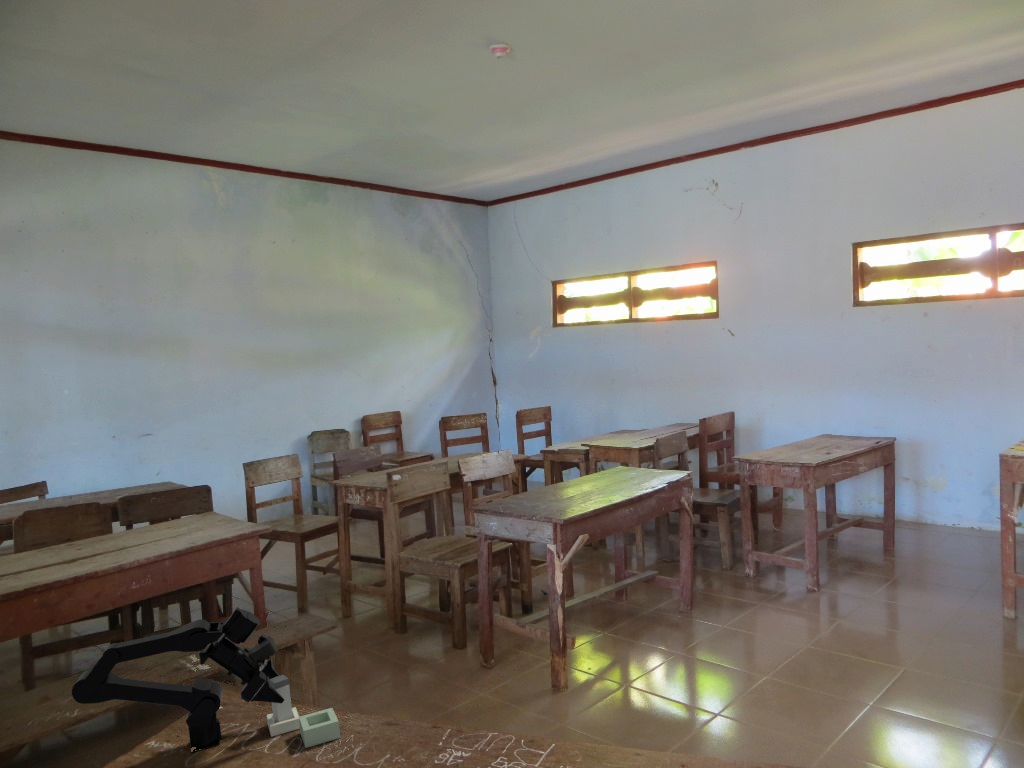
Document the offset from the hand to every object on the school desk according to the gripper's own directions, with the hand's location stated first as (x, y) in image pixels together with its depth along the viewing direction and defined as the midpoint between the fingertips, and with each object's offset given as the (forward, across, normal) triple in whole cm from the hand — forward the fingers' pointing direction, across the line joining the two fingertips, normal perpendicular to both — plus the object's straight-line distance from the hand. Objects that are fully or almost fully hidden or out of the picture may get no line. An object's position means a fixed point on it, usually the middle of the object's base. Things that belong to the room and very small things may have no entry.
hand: (284, 693), depth 182 cm
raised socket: (+11, -9, 0) cm, 14 cm away
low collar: (+5, 0, +6) cm, 8 cm away
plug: (+5, 0, +6) cm, 8 cm away
